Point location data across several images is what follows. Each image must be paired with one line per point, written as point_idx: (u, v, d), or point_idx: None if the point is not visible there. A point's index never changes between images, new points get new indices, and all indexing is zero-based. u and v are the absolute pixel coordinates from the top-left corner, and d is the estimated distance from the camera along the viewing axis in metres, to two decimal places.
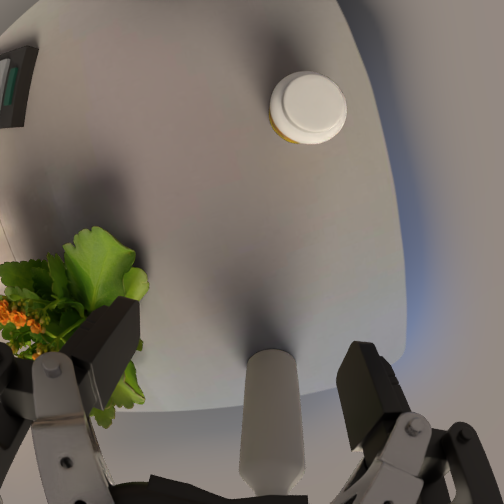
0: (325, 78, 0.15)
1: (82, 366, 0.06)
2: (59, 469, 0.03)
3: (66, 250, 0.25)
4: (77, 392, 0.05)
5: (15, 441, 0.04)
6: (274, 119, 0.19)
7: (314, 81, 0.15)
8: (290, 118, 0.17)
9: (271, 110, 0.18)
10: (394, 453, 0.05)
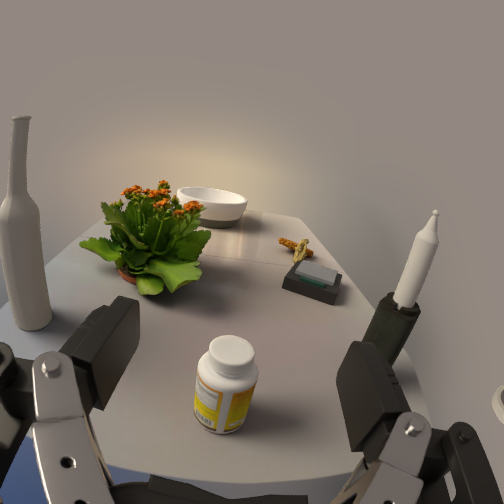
0: (249, 359, 0.23)
1: (82, 366, 0.06)
2: (59, 469, 0.03)
3: (196, 261, 0.47)
4: (77, 392, 0.05)
5: (15, 441, 0.04)
6: None
7: (248, 353, 0.24)
8: (224, 335, 0.26)
9: None
10: (394, 453, 0.05)
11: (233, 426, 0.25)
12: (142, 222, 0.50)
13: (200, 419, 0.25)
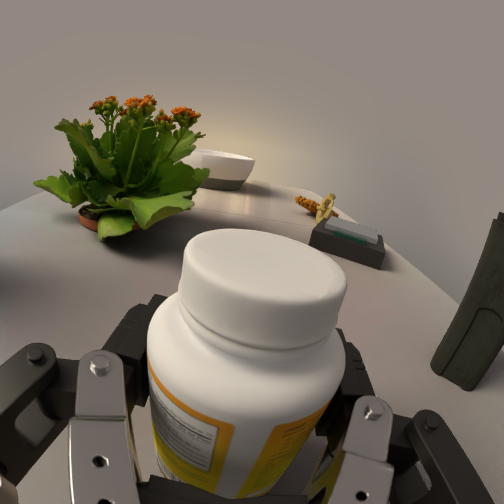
0: (339, 286, 0.06)
1: (129, 363, 0.07)
2: (90, 467, 0.03)
3: (186, 191, 0.30)
4: (123, 393, 0.06)
5: (45, 441, 0.05)
6: None
7: (326, 270, 0.07)
8: None
9: None
10: (347, 434, 0.06)
11: (257, 495, 0.08)
12: None
13: (169, 477, 0.08)
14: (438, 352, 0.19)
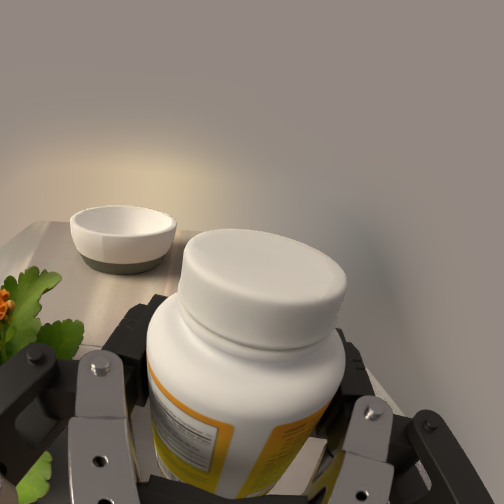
0: (339, 286, 0.06)
1: (128, 363, 0.07)
2: (90, 467, 0.03)
3: None
4: (123, 393, 0.06)
5: (45, 441, 0.05)
6: None
7: (326, 270, 0.07)
8: None
9: None
10: (347, 434, 0.06)
11: (257, 496, 0.08)
12: None
13: (169, 477, 0.08)
14: None
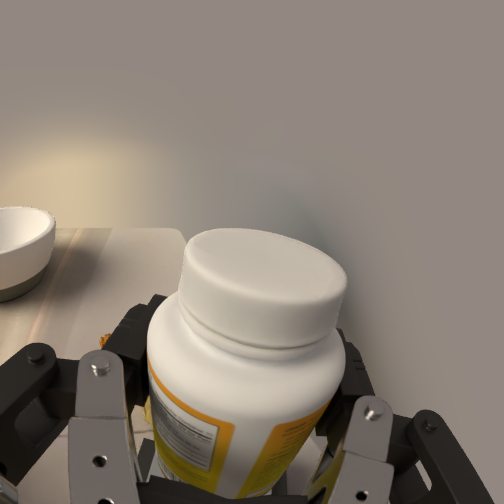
0: (339, 286, 0.06)
1: (129, 363, 0.07)
2: (90, 466, 0.03)
3: None
4: (123, 393, 0.06)
5: (45, 441, 0.05)
6: None
7: (326, 269, 0.07)
8: None
9: None
10: (348, 434, 0.06)
11: (257, 495, 0.08)
12: None
13: (169, 477, 0.08)
14: None
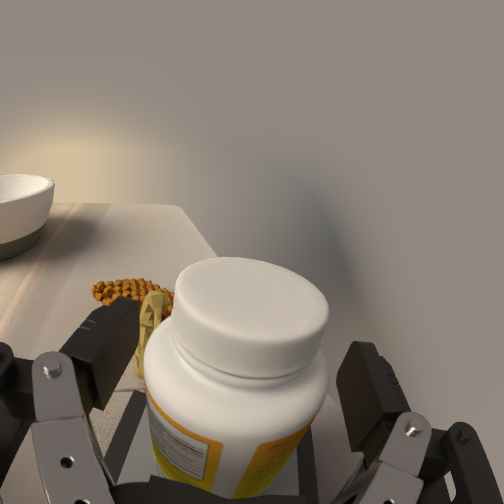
0: (319, 320, 0.06)
1: (82, 366, 0.06)
2: (59, 469, 0.03)
3: None
4: (77, 392, 0.05)
5: (15, 441, 0.04)
6: None
7: (309, 302, 0.07)
8: None
9: None
10: (394, 453, 0.05)
11: None
12: None
13: None
14: None
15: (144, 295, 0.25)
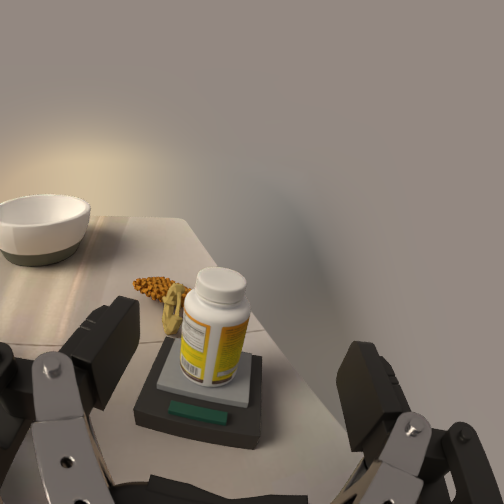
0: (240, 287, 0.22)
1: (82, 366, 0.06)
2: (59, 469, 0.03)
3: None
4: (77, 392, 0.05)
5: (15, 441, 0.04)
6: None
7: (239, 282, 0.23)
8: (214, 267, 0.24)
9: None
10: (394, 453, 0.05)
11: (222, 377, 0.24)
12: None
13: (186, 368, 0.24)
14: None
15: (167, 287, 0.40)
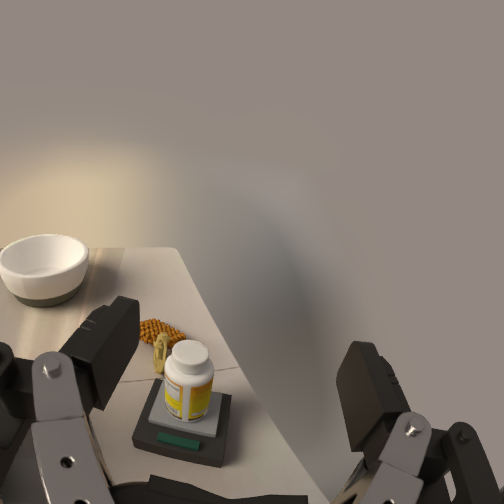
0: (203, 360, 0.28)
1: (82, 366, 0.06)
2: (59, 469, 0.03)
3: None
4: (77, 392, 0.05)
5: (15, 441, 0.04)
6: None
7: (203, 355, 0.29)
8: (185, 340, 0.30)
9: None
10: (394, 453, 0.05)
11: (196, 416, 0.30)
12: None
13: (169, 409, 0.30)
14: None
15: (157, 331, 0.46)
